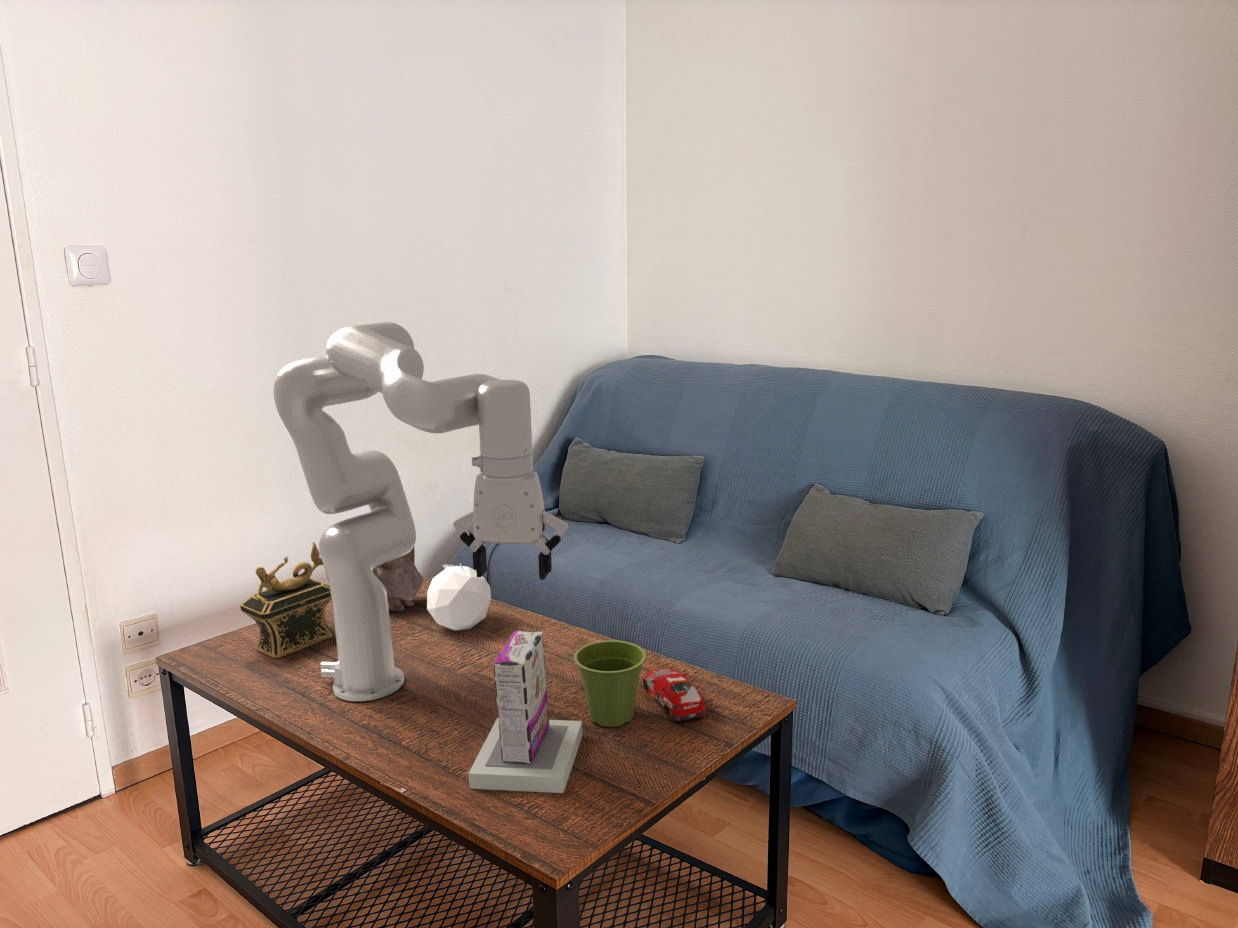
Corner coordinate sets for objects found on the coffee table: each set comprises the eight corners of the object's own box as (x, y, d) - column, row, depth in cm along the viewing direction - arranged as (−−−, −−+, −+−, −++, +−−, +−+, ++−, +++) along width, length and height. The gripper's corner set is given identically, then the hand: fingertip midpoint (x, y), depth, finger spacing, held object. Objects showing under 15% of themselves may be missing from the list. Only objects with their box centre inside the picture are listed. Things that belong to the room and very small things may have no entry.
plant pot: (592, 742, 145) (589, 677, 142) (566, 709, 155) (563, 648, 153) (659, 725, 149) (658, 661, 146) (630, 694, 160) (628, 634, 157)
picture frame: (469, 788, 134) (468, 771, 133) (498, 731, 149) (497, 716, 148) (563, 792, 132) (562, 776, 131) (582, 734, 147) (581, 719, 146)
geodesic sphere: (400, 601, 191) (422, 558, 183) (449, 581, 201) (472, 540, 194) (441, 652, 186) (465, 611, 178) (489, 629, 196) (514, 589, 189)
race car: (639, 685, 164) (638, 660, 162) (673, 678, 166) (673, 653, 164) (672, 728, 148) (671, 700, 147) (710, 720, 150) (709, 693, 149)
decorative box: (270, 664, 176) (257, 568, 172) (244, 651, 183) (231, 558, 178) (358, 629, 191) (348, 540, 187) (331, 618, 197) (321, 532, 193)
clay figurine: (403, 594, 210) (393, 489, 204) (436, 601, 205) (426, 494, 199) (361, 614, 199) (349, 504, 193) (395, 622, 194) (383, 510, 188)
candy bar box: (519, 724, 146) (513, 629, 142) (550, 726, 145) (544, 630, 141) (499, 763, 135) (491, 661, 131) (531, 765, 134) (525, 662, 130)
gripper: (441, 470, 131) (449, 582, 135) (559, 473, 128) (563, 587, 132) (458, 458, 138) (465, 564, 142) (570, 460, 135) (574, 568, 140)
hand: (512, 575), depth 137 cm, fingers open, 9 cm apart
